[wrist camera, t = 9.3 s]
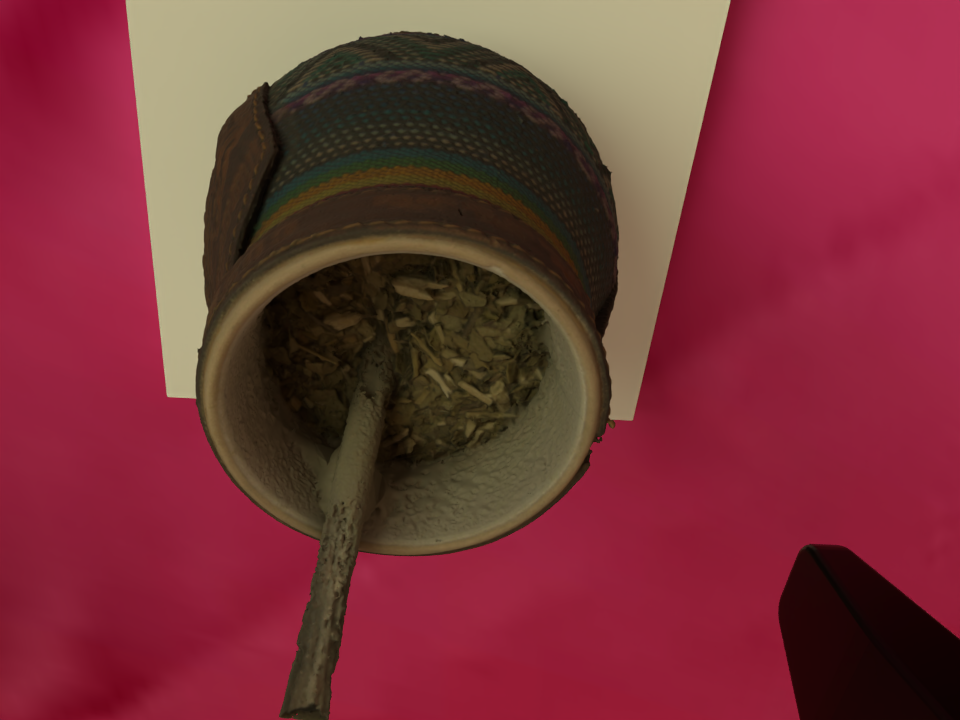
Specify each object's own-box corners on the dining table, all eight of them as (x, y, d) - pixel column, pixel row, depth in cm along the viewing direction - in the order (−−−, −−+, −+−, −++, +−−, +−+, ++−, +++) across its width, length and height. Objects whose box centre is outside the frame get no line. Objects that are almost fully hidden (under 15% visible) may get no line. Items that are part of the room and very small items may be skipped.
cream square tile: (627, 401, 23) (632, 420, 22) (175, 377, 22) (167, 396, 21) (735, -82, 17) (747, -76, 16) (124, -145, 16) (110, -141, 15)
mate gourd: (639, 35, 17) (837, 306, 9) (539, 363, 21) (611, 756, 13) (251, -50, 16) (68, 169, 8) (222, 313, 20) (82, 709, 12)
